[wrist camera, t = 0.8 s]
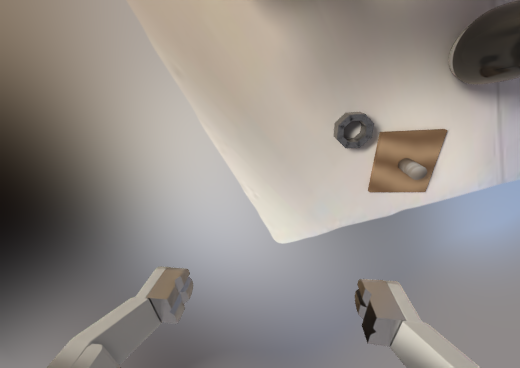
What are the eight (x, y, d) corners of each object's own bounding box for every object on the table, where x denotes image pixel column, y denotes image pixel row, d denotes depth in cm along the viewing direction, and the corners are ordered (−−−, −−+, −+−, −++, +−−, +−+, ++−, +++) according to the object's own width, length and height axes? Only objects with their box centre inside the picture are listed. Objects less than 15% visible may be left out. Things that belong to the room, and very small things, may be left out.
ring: (335, 113, 40) (339, 115, 37) (369, 111, 39) (376, 113, 36) (332, 144, 43) (335, 148, 40) (364, 143, 42) (369, 147, 39)
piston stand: (379, 132, 40) (394, 139, 35) (443, 129, 39) (469, 135, 33) (367, 190, 46) (378, 203, 41) (422, 189, 45) (440, 203, 39)
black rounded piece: (422, 64, 34) (509, 50, 21) (481, -3, 30) (643, -77, 16) (461, 97, 36) (566, 103, 22) (524, 37, 31) (704, 0, 18)
